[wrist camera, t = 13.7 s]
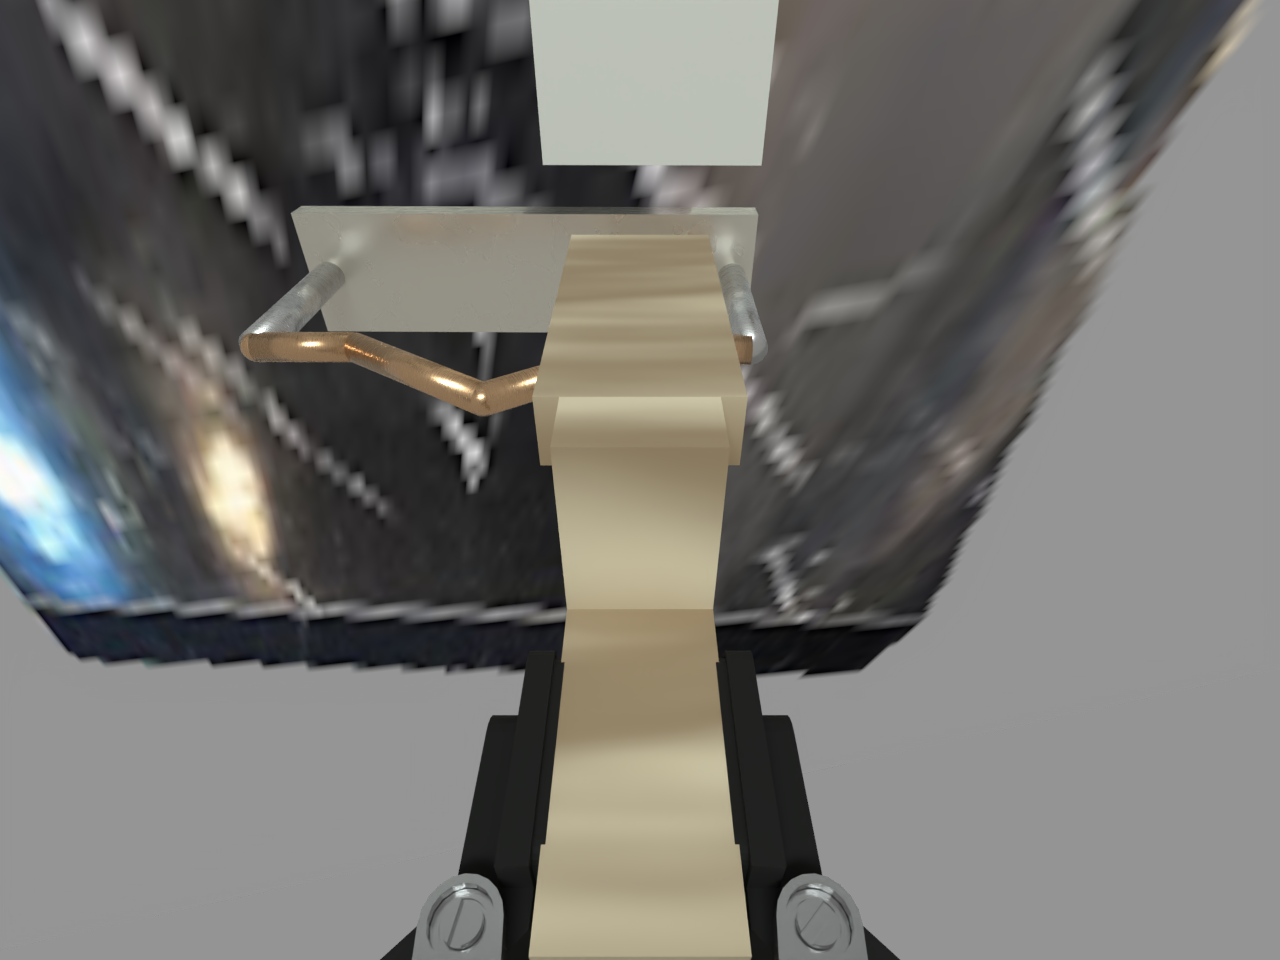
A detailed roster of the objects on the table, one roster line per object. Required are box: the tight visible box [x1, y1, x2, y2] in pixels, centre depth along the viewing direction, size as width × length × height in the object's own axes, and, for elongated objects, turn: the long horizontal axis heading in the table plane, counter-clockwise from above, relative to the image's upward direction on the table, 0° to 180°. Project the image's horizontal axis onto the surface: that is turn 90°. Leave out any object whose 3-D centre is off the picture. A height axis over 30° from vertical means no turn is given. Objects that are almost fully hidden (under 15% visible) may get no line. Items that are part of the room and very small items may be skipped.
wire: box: [239, 206, 768, 416], centre depth 28 cm, size 6×22×14 cm, turn 90°
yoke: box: [529, 235, 752, 960], centre depth 16 cm, size 11×4×17 cm, turn 0°
